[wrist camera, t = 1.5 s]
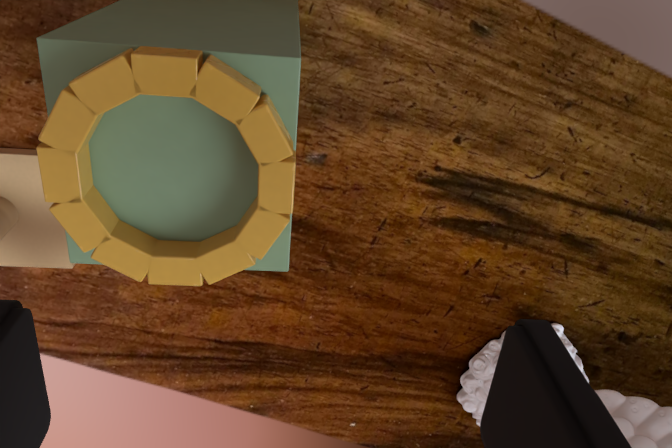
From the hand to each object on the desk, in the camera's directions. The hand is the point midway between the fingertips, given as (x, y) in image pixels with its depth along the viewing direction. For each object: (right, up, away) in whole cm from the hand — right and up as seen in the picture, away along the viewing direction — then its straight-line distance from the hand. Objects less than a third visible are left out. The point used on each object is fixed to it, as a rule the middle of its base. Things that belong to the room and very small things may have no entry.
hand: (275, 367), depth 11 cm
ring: (-4, +5, +8) cm, 10 cm away
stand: (-5, +12, +22) cm, 26 cm away
